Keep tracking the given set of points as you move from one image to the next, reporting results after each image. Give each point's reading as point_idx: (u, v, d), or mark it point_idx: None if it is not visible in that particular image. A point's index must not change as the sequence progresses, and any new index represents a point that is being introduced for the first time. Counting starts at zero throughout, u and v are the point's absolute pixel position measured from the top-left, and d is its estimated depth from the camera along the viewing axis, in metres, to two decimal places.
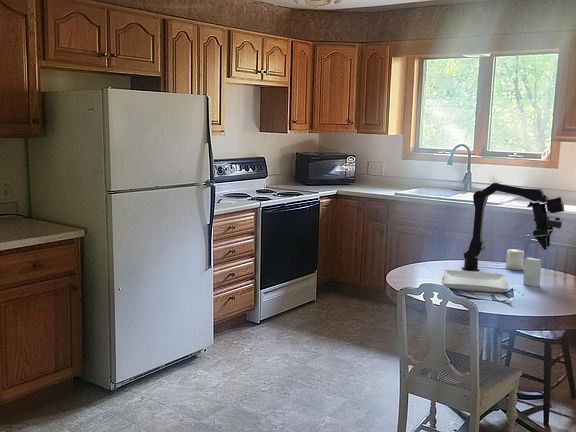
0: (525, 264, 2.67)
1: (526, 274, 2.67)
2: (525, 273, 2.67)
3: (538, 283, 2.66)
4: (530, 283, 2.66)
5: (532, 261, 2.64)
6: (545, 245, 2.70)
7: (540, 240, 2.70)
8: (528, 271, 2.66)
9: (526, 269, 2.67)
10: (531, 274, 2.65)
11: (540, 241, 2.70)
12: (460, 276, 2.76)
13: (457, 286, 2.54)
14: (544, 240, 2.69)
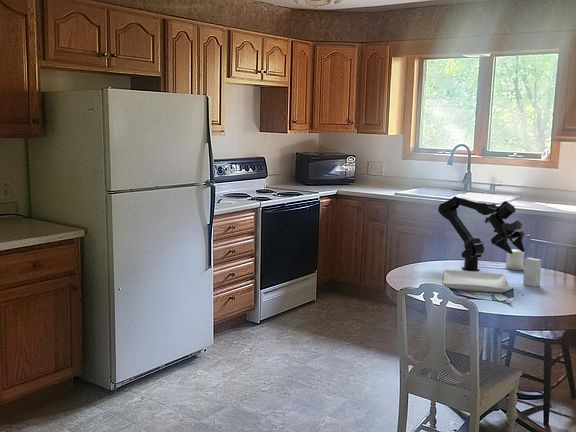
0: (525, 264, 2.67)
1: (526, 274, 2.67)
2: (525, 273, 2.67)
3: (538, 283, 2.66)
4: (530, 283, 2.66)
5: (532, 261, 2.64)
6: (509, 249, 2.70)
7: (502, 246, 2.72)
8: (528, 271, 2.66)
9: (526, 269, 2.67)
10: (531, 274, 2.65)
11: (503, 247, 2.72)
12: (460, 276, 2.76)
13: (457, 286, 2.54)
14: (505, 245, 2.70)
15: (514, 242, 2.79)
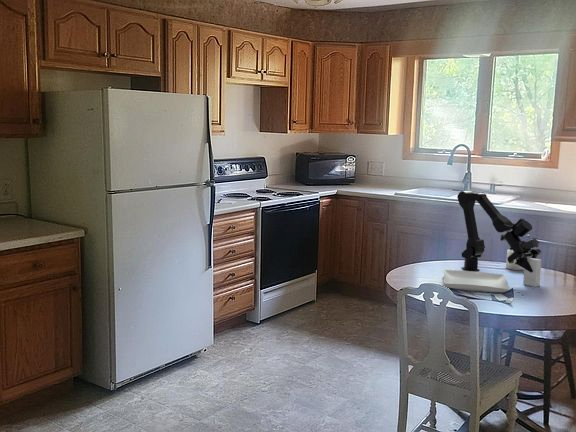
0: None
1: (526, 274, 2.67)
2: (525, 273, 2.67)
3: (538, 283, 2.66)
4: (530, 283, 2.66)
5: (532, 261, 2.64)
6: (529, 267, 2.64)
7: (522, 264, 2.66)
8: (528, 271, 2.66)
9: None
10: (531, 274, 2.65)
11: (523, 265, 2.66)
12: (460, 276, 2.76)
13: (457, 286, 2.54)
14: (525, 263, 2.65)
15: None
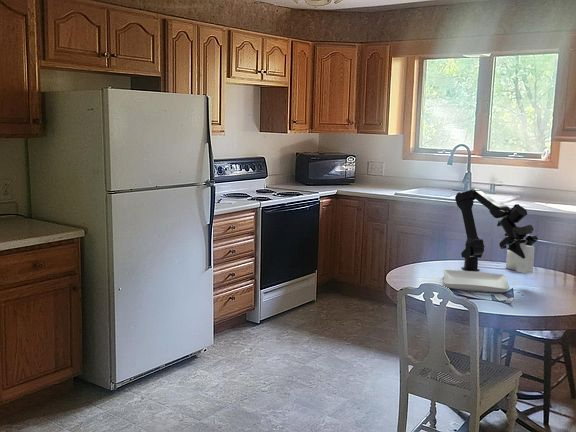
0: None
1: (519, 261, 2.64)
2: (517, 260, 2.64)
3: (531, 270, 2.61)
4: (522, 270, 2.62)
5: (524, 247, 2.61)
6: (521, 253, 2.61)
7: (515, 250, 2.64)
8: (520, 258, 2.63)
9: (519, 256, 2.64)
10: (523, 261, 2.62)
11: (515, 251, 2.63)
12: (460, 276, 2.76)
13: (457, 286, 2.54)
14: (518, 249, 2.62)
15: None
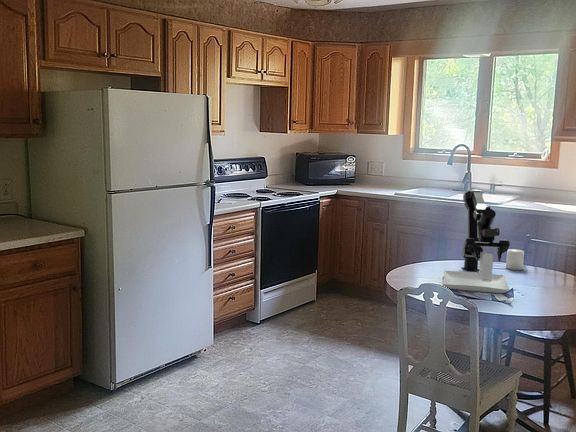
0: (480, 258, 2.63)
1: (480, 268, 2.62)
2: None
3: (488, 278, 2.58)
4: (480, 277, 2.61)
5: (482, 255, 2.59)
6: (476, 255, 2.60)
7: (473, 252, 2.63)
8: (480, 265, 2.61)
9: (480, 263, 2.62)
10: (481, 268, 2.60)
11: (473, 253, 2.63)
12: (460, 277, 2.76)
13: (457, 287, 2.54)
14: (474, 251, 2.61)
15: (498, 251, 2.63)
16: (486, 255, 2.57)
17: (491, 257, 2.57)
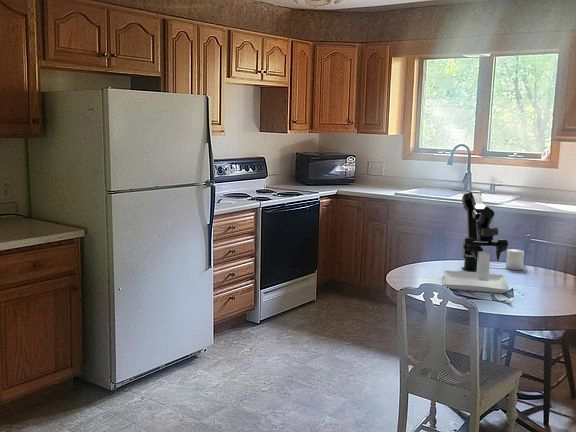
0: (477, 257, 2.64)
1: (477, 267, 2.63)
2: (477, 266, 2.64)
3: (485, 278, 2.59)
4: (477, 277, 2.62)
5: (479, 254, 2.60)
6: (474, 255, 2.63)
7: (472, 251, 2.65)
8: (477, 264, 2.62)
9: (477, 262, 2.63)
10: (478, 268, 2.61)
11: (472, 252, 2.65)
12: (460, 277, 2.76)
13: (456, 287, 2.55)
14: (472, 250, 2.64)
15: (496, 250, 2.66)
16: (483, 255, 2.58)
17: (488, 257, 2.58)
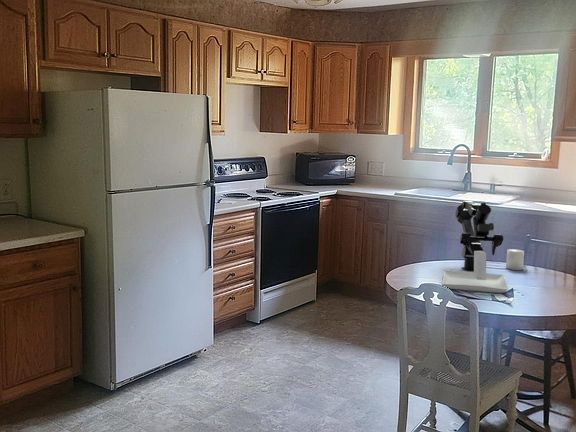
0: (474, 256, 2.65)
1: (474, 266, 2.64)
2: (474, 265, 2.65)
3: (482, 277, 2.60)
4: (475, 276, 2.63)
5: (475, 253, 2.61)
6: (471, 249, 2.72)
7: (468, 246, 2.75)
8: (474, 264, 2.63)
9: (474, 261, 2.64)
10: (475, 267, 2.62)
11: (468, 247, 2.75)
12: (459, 277, 2.76)
13: (456, 287, 2.55)
14: (469, 245, 2.74)
15: (492, 245, 2.75)
16: (479, 253, 2.59)
17: (484, 255, 2.59)
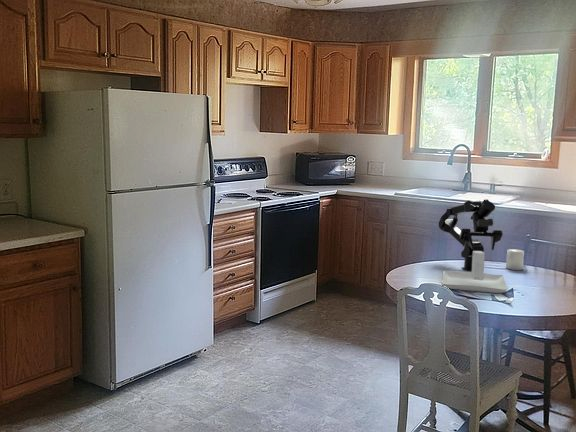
0: None
1: (472, 266, 2.65)
2: (472, 265, 2.65)
3: (479, 277, 2.60)
4: (472, 276, 2.63)
5: (474, 253, 2.62)
6: (470, 244, 2.78)
7: (468, 241, 2.81)
8: (472, 264, 2.64)
9: (472, 261, 2.65)
10: (473, 267, 2.62)
11: (468, 242, 2.80)
12: (459, 277, 2.76)
13: (456, 287, 2.55)
14: (469, 240, 2.79)
15: (491, 240, 2.81)
16: (478, 254, 2.59)
17: (483, 256, 2.59)
